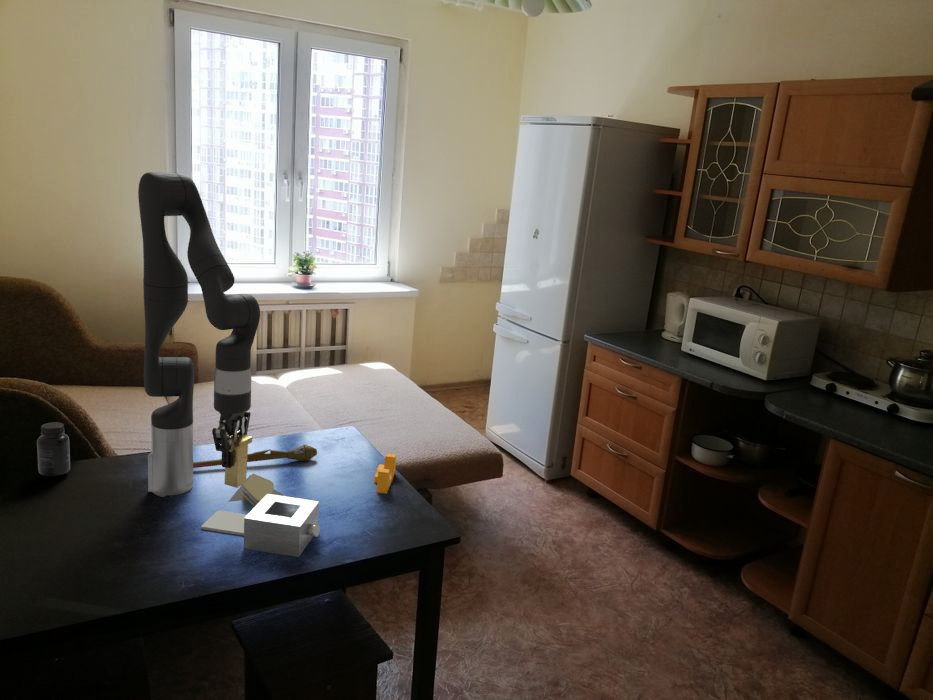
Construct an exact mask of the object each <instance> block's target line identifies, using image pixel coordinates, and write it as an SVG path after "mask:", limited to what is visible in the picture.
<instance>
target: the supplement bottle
mask: <svg viewBox="0 0 933 700" xmlns="http://www.w3.org/2000/svg"><path fill="white" fill-rule="evenodd" d="M64 424H65V423H62V422H57V421H55V422H54V421H53V422H48V423H44V424H42V425H41V426H40V430H41V431H40V434H41V435H40V436H39V437H38V438H37V439H36V447H37V448H36V449H37V451H36V452H37V469H38V473H39V474H40V475H41V476H45V477H57V476H62V475H65V474H67V473H68V472H69V471H70V470H71V454H70V437H69V436H68V434H66V433H65V425H64Z"/></svg>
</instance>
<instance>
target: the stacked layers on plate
mask: <svg viewBox="0 0 933 700" xmlns="http://www.w3.org/2000/svg"><path fill="white" fill-rule="evenodd" d="M267 494H272V495H279V496H285V494H282V493H281V492H280V491H277V489H275V484H274V482H273V481H272V480H270V479H268V478H265V477H263V476H261V475H258V474H256V473H252V474H251V475H250V474H249V476H248V477H246V483H244V484H243V485H241V486H239V487H238V488H237V490H236V491H235V492H234V494H233V495H232V496H231V498H230V499H229V500H228V501H227V502H228V503H231V502H239V501H246V500H247V501H248V502H250V504H251V505H252V506H254V507H255V506H256V505H257V504H258V503H259V502H260V501H261V500H262V499H263V498H264V497H265V496H266V495H267Z"/></svg>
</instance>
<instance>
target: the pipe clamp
mask: <svg viewBox="0 0 933 700" xmlns="http://www.w3.org/2000/svg"><path fill="white" fill-rule="evenodd" d="M384 458H385V459H384V464H383V463H382V464H381V463H379V464H378V466H377V468H376V472H375V475H374V480H373V482H374V483H375V484H376V493H377V494H388V491H389V490H390V487H391V485H392V483H393V479H394V476H395V475H396V465H397V454H393V453H386V455H385V457H384Z"/></svg>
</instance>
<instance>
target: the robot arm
mask: <svg viewBox="0 0 933 700" xmlns="http://www.w3.org/2000/svg"><path fill="white" fill-rule="evenodd" d="M137 193H138V194H137V195H138V208H139V217H140V226H141V234H142V251H143V252H142V253H143V280H142V281H143V283H142V284H143V287H142V289H143V307H144V308H143V310H144V327H145V328H144V329H145V331H144V332H145V333H144V337H145V338H144V355H143V356H144V357H143V358H144V359H143V386H144V387H143V388H144V391H145V393H146V395H147V396H149V397H153V398H154V397H155V398H159V397H160V398H163V397H164V398H165V397H178V398H177V399H176V400H173V402H170V403H168V404H165V405H162V406H160V407H157V408H155V409H154V410H153V411H152V413H151V415H150V416H151V418H150V421H151V424H150V428H151V430H150V436H151V439H150V440H151V452H150V453H149V454H148V455H147V484H148V486H147V488H148V489H147V490H148V492H149V493H153V494H154V495H155V496H158V497H161V498H165V497H166V496H176V495H181V494H184V493H188V492H190V491H191V490H192V489H193V487H194V468H193V462H194V389H195V388H194V387H195V364H194V361H193V359H191V357H187V356H182V357H180V356H179V357H178V356H174V357H173V356H170V357H169V356H167V357H166V356H165V357H164V356H162V357H161V356H160V352H161V350H162V346H163V344H164V342H165V340H166V339H167V336H168V335H169V333H170V332H171V330H172V329H173V327H174V326H175V325H176V324H177V322H179V320H180V318H181V317H182V315H183V314H184V312H185V310H186V309H187V306H188V303H189V278H188V274H187V271H186V269H185V266H184V265H183V263H182V261H181V260H180V259H179V257H178V256H177V254H176V253H175V251H174V250H173V248H172V247H171V244H170V242H169V240H168V237H167V233H166V225H165V224H166V223H165V217H180V216H181V217H182V218H183V219H184V220H185V221H186V223H187V224H188V227H189V231H190V232H189V238H188V239H189V241H188V244H187V245H188V246H187V253H186V255H187V260H188V261H187V262H188V265H189V266H190V269H191V272H192V273H193V275H194V277H195V279H196V281H197V283H198V284H199V287H200V288H201V292H202V297H203V298H202V299H203V302H204V307H205V314H206V318H207V320H208V322H209V323H210V324H211V326H213V327H214V329H217V330H219V331H227V330H232V331H231V332H230V334H229V335H228V336H226V337H224V338H223V339H221V340H219V341H218V342H217V343H216V346H215V368H214V369H215V371H214V375H213V409H214V410H215V411H216V412H218V413H219V414H220V415H219V421H218V427H213V428H212V430H211V433H212V437H213V438H212V439H213V443H214V446H215V451H216V452H221V459H222V465H221V467H222V468H224V469H225V468H231V467H232V466H233V447H232V442H233V441H235V440H236V439H237V435H247V436H248V432H249V431H248V430H249V425H250V420H251V412H250V411H249V410H250V409H251V407H252V405H251V404H252V373H251V358H252V357H251V356H252V355H251V352H252V351H251V350H252V348H253V347H252V346H253V343H254V341H255V338H256V334H257V331H258V327H259V324H260V319H261V308H260V305H259V302H258V300H257V298H255V297H254V296H253V295H252V294H248V293H238V294H225V292H227V291H229V290H230V289H231V288H232V287H233V286H234V284H235V276H234V274H233V271H232V270H231V268H230V266H229V264H228V262H227V260H226V259H225V257H224V255H223V253H222V251H221V250H220V247H219V245H218V243H217V240H216V238H215V235H214V232H213V230H212V227H211V224H210V221H209V218H208V214H207V211H206V209H205V206H204V204H203V199H202V198H201V194H200V192H199V190H198V188H197V185H196V183H195V182H194V180H193V178H191V177H190V176H189V175H188V174H185V173H181V172H153V171H151V172H145V173H143V174H142V176H141V177H140V180H139V183H138V190H137ZM229 435H232V437H229ZM228 441H229V444H228Z"/></svg>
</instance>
